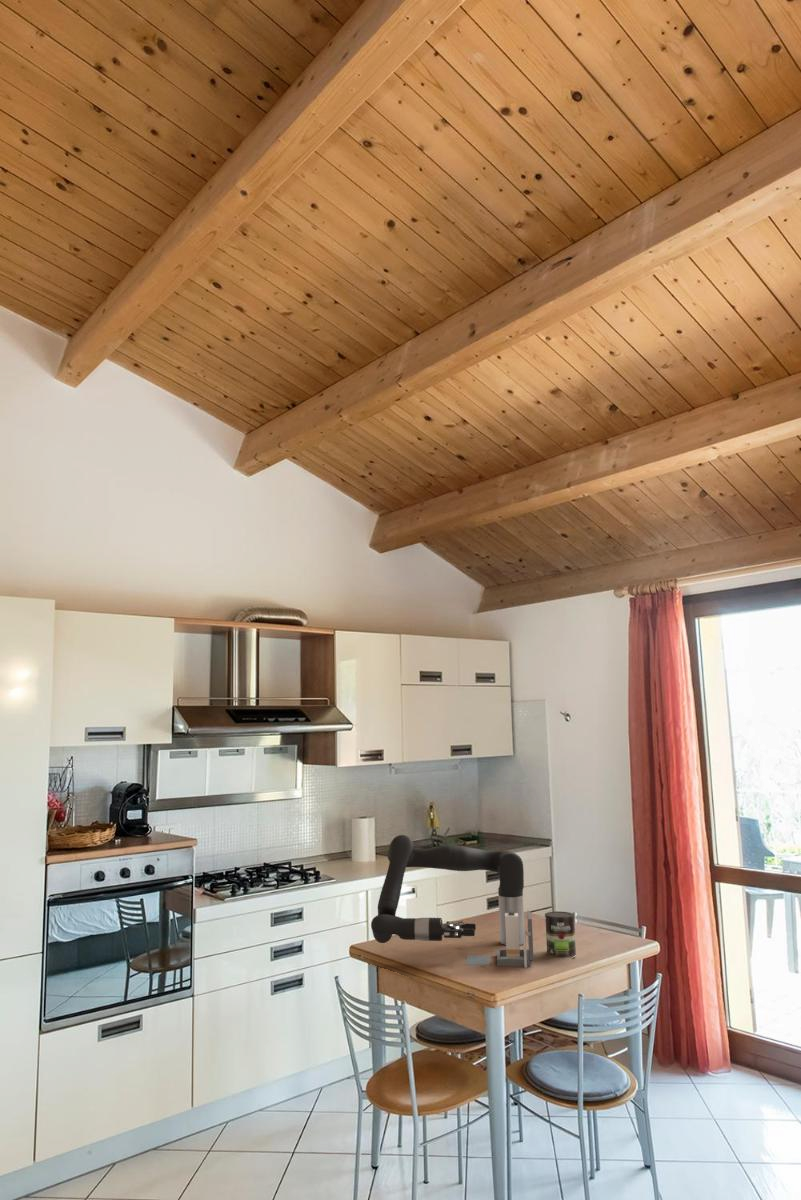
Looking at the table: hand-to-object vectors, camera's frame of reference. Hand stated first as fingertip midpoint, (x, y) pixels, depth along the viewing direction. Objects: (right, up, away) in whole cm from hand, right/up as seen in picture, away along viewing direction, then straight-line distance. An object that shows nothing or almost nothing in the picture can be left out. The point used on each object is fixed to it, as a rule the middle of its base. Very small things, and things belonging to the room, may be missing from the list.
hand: (475, 929), depth 283 cm
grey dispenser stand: (+13, -10, -3) cm, 17 cm away
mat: (+1, -11, -2) cm, 11 cm away
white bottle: (+13, -9, -3) cm, 16 cm away
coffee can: (+31, -12, +5) cm, 34 cm away
